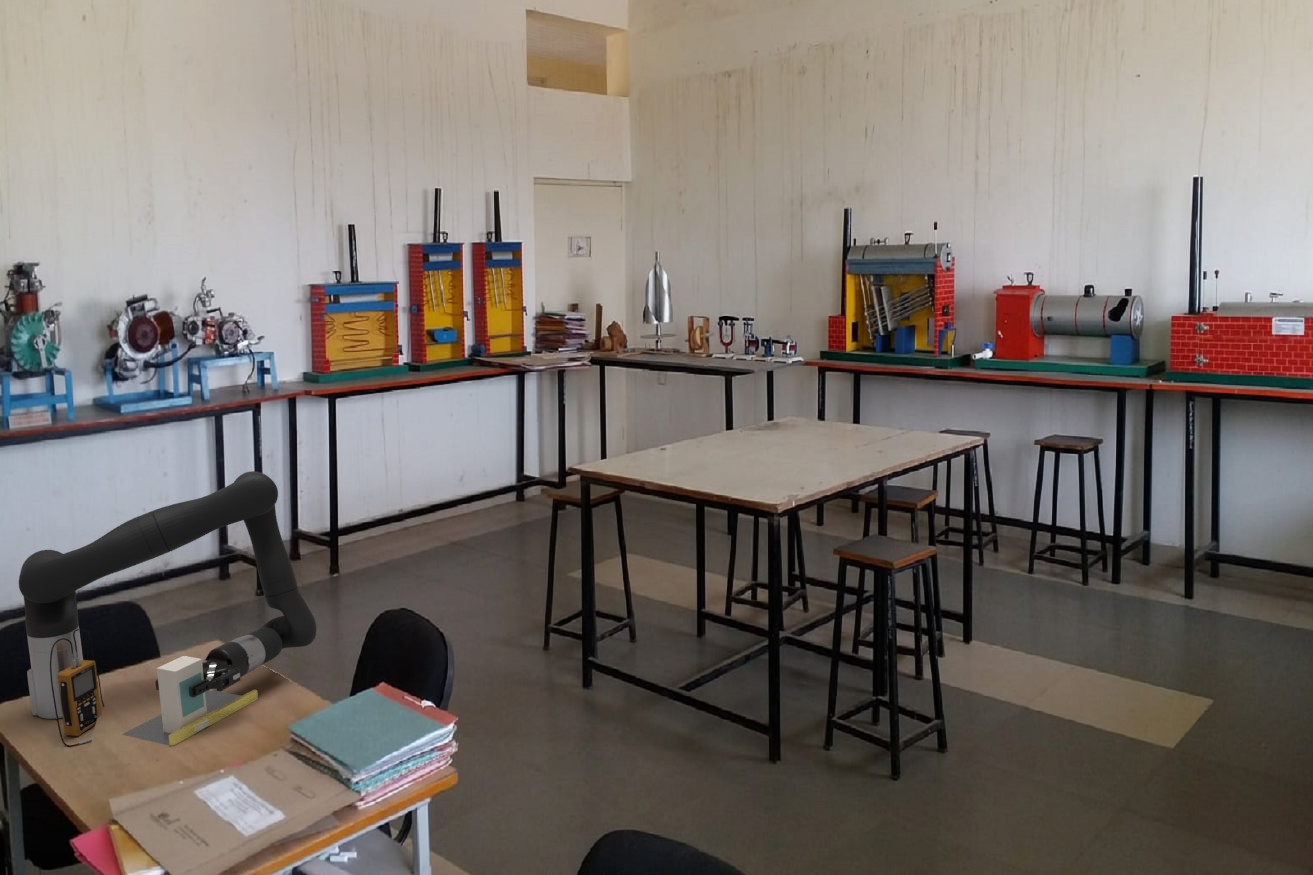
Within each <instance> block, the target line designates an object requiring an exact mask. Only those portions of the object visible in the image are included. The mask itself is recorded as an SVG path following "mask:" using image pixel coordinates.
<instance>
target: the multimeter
mask: <svg viewBox="0 0 1313 875" xmlns="http://www.w3.org/2000/svg"><path fill="white" fill-rule="evenodd" d="M78 630H79V631H83V632H85V633H86V634H87V635H88V637H89V640H90V651H91V658H92V660H89V659H87V660H86V659H83V660H81V661H79V658H78V651H77V645H76V640H75V632H76V631H78ZM73 637H74V642H75V649H76V662H75V659H74V653H73V647H72V643H71V641H69V640H68V639H65V638H63V639H59V640H57V641H56V642H55V643H54V644H53V647H52V649H51V654H50V677H51V686H52V693H53V699H54V706H55V712H56V717H57V718H56V721H57V727H58V731H59V736H60V740H61V741H62V742H61V743H62V744H63V745H64V746H65V747H76V746H78V745H83V744H87V743H90V742H92V741H93V738H89V739H86V740H82V741H80V742H78V743H75V744H70V745H69V744H67V743H66V742H65V740H64V739H63V738H64V737H63V734H62V730H61V727H60V721H59V718H58V714H57V708H56V702H55V696H54V689H53V681H52V668H51V660H52V652H53V648H54V646H55V644H56V643H57V642H58V641H60V640H67V641H68V642H70V644H71V649H72V666H71V667H69V668H67V669H65V670H63V671H61V672H59V673H58V675H57V677H58V685H59V693H60V701H61V708H62V714H63V715H62V716H63V717H62V721H63V722H62V723H63V728H64V735H66V736H73V737H80V736H81V735H82V733H85V732H86V731H88V730H89V729H91V728H92V727H94V726H96V725H97V721H98V718H99V717H100V716H102V709H101V708H102V707H104V708H105V704H104V701H103V695H102V688H101V687H102V686H101V682H100V676H99V675H100V674H99V672H98V670H97V666H96V665H97V664H96V661H95V656H94V650H93V642H92V637H91V634H90V633H89V631H88V630H87V629H83V628H79V629H77V630H75V631H74V632H73ZM100 699H101V700H100ZM101 705H102V707H101Z"/></svg>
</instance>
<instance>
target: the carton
mask: <svg viewBox="0 0 1313 875" xmlns="http://www.w3.org/2000/svg"><path fill="white" fill-rule="evenodd" d="M202 661H203V659H202V658H198V657H192V656H186V655H182V656H180V657H178V658H176V659H174V660H171V661H169V662H168V663H165V664H162V665H160V666H159V667H156V674H157V679H158V685H159V690H158V692H159V702H160V712H161V714H162V722H163V732H167V733H174V732H176V731H177V730H179V729H181V728H183V727H185V726H187V725H189V724H190V723H192V722H194V721H196V720H198V719H200V718H202V717H203V716H205V715H207V707H206V697H205V692H204V693H202V694H200V695H198V696H196V697H194V698H193V697H190V696H189V687H190V686H191V685H194V684H196V683H198V682H200V681H202V680H204V676H203V666H202Z"/></svg>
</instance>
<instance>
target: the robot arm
mask: <svg viewBox="0 0 1313 875" xmlns="http://www.w3.org/2000/svg"><path fill="white" fill-rule="evenodd" d="M278 498H279V490H278V487H277V485H276V483H275V481H274V480H273V479H272V478H270V476H269V475H267V474H265V473H263V472H261V471H247V472H244V473H242V474H240V475H239V476H238V477H236V479H235V480H234V482H233V483H230V484H229V485H227V486H225V487H222V488H220V489H219V490H216V491H214V492H212V493H210V494H206V495H205V496H202V497H199V498H196V499H191V500H186V501H182V502H178V503H174V504H169V505H166V506H162V507H160V508H157V509H154V510H151V511H149V512H145V513H144V514H140V515H138V516H136V517H134V518H131V519H129V520H127V521H125V522H124V523H122V524H120V525H118V526H116V527H115V528H113V529H111V530H110V531H108V532H107V533H105V534H104V535H102V536H101V537H98V539H96V540H94V541H93V542H91V543H89V544H86V545H85V546H82V547H79V548H77V549H73V550H70V551H67V552H64V553H62V552H60V551H58V550H54V549H41V550H39V551H36V552H34V553H31V554H30V556H28V557H27V558H26V559H25V561H24V562H23V563H22V566H21V569H20V573H19V577H18V589H19V591H20V594H21V595H22V596H23V602H24V603H23V604H24V613H25V614H24V615H25V616H24V617H25V623H24V624H25V630H26V631H25V632H26V636H27V637H26V638H27V644H28V652H29V659H30V667H31V668H30V669H28V670H27V671H26V672H27V674H26V675H27V684H28V691H29V698H30V704H31V705H30V707H31V713H32V716H37V717H39V718H41V719H45V720H46V719H48V720H49V719H51V720H52V719H53V720H54V719H57V717H56V712H55V706H54V699H53V693H52V686H51V677H50V654H51V649H52V647H53V644H54V643H55V642H56V641H57V640H59V639H63V638H65V639H68V640H69V641H71V643H72V647H73V653H74V659H75V662H76V649H75V642H74V637H73V632H74V631H75V630H77V629H80V626H79V613H78V601H77V600H78V599H77V593H76V591H78V590H80V589H82V588H84V587H86V586H87V585H89V584H91V583H94V582H95V581H98V580H100V579H102V578H104V577H107V576H109V575H112V574H115V573H119V572H121V571H124V570H127V569H130V568H132V567H135V566H136V565H139V564H143V563H145V562H148V561H150V560H154V559H155V558H158V557H160V556H163V555H165V554H168V553H170V552H172V551H175V550H177V549H180V548H182V547H184V546H186V545H188V544H191V543H193V542H195V541H196V540H199V539H200V538H202V537H204V536H206V535H208V534H210V533H212V532H214V531H216V530H218V529H220V528H223V527H227V526H229V525H230V526H231V525H233V524H235V523H238V522H242V521H243V522H244V525H245V527H246V530H247V532H248V535H249V539H250V541H251V542H250V543H251V545H252V550H253V555H254V560H255V564H256V567H257V568H256V569H257V572H258V576H259V582H260V584H261V588H262V591H263V596H264V598H265V601H266V604H267V605H268V607H269V608H271V609H275V610H278V611H280V612H281V613H282V615H280V616H277V617H275V618H273V619H271V620H268V621H267V622H265V624H263V625H262V626H261V627H260V628H258V629H256V630H253V631H252V632H250V633H248V634H245V635H243V636H239V637H236V638H234V639H233V640H230V641H228V642H225V643H224V644H221V645H220V646H218V647H214V648H213V649H211V650H209V652H208V654H207V655H206V657H205V659H204V660H202V666H203V676H204V680H202V681H200V682H198V683H196V684H194V685H191V686H190V687H189V696H190V697H193V698H194V697H196V696H198V695H200V694H202V693H204V692H206V691H213V690H216V691H220V692H223V691H224V690H226V689H228V688H229V687H232V686H234V685H236V683H238V682H240V681H241V677H243V676H245V675H247V674H249V673H251V672H252V671H254V670H256V669H258V668H259V667H260V666H262V665H264V664H265V663H268V662H270V661H272V660H273V659H275V658H277V656H279V655H280V653H281V651H282V650H283V649H290V648H300V647H302V648H303V647H306V646H309V645H311V644H312V643H313V642H314V640H315V638H316V635H317V631H318V630H317V623H316V619H315V616H314V615H313V613H312V611H311V610H310V608H309V606H308V605H307V603H306V601H305V599H304V598H303V596H302V595H301V593H300V590H299V587H298V583H297V580H296V575H295V573H294V572H295V571H294V569H293V566H292V565H293V564H292V562H291V560H290V557H289V554H288V552H287V549H286V546H285V544H284V541H283V538H282V534H281V532H280V527H279V524H278V518H277V510H276V503H277V501H278ZM80 632H81V630H78V631H76V632H75V640H76V645H77V651H78V658H79V661H81V660H84V656H83V650H82V649H83V648H82V640H81V634H80ZM71 666H72V649H71V644H70V642H68V641H67V640H60V641H58V642H57V643H56V644H55V646H54V648H53V652H52V660H51V668H52V681H53V689H54V696H55V702H56V708H57V714H58V719H60V718H61V719H63V716H62V715H63V714H62V708H61V701H60V693H59V685H58V677H57V675H58V673H59V672H61V671H63V670H65V669H67V668H69V667H71ZM154 684H155V689H156V691H159V685H158V678H157V679H156V680H155V683H154Z"/></svg>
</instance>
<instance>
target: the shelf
mask: <svg viewBox="0 0 1313 875" xmlns="http://www.w3.org/2000/svg"><path fill="white" fill-rule="evenodd" d="M258 696H259V695H258V689H252V690H251V691H248V692H246V693H245V694H243V695H239V694H235V693H229V692H225V691H224V692H223V691H217V690H216V689H214V690H213V691H206V692H205V697H206V707H207V715H205V716H203V717H202V718H200V719H198V720H196V721H194V722H192V723H190V724H189V725H187V726H185V727H183V728H181V729H179V730H177V731H176V732H174V733H167V732H163V722H162V713H161V714H159V715H157V716H155V717H152V718H151V719H150V720H147V721H145V722H144V723H141V724H140V725H137V726H136V727H133V728H131V729H130V730H128V731H126V732H124V733H122V736H127V737H131V738H135V739H140V740H145V741H148V742H153V743H158V744H162V745H165V746H166V745H167V746H171V747H175V746H176V745H178V744H179V743H182V742H183V741H185V740H187V739H188V738H191V737H192V736H194V735H196V734H197V733H199V732H202V731H203V730H205V729H206V728H208V727H210V726H212V725H215V724H216V723H218V722H219V721H222V720H223V719H226V717H227V718H228V716H230V715H232V714H234V713H235V712H238V711H239V710H241V709H243V708H245V707H246V706H248V705H250V704H253V702H256V701H257V700H259V697H258Z"/></svg>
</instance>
